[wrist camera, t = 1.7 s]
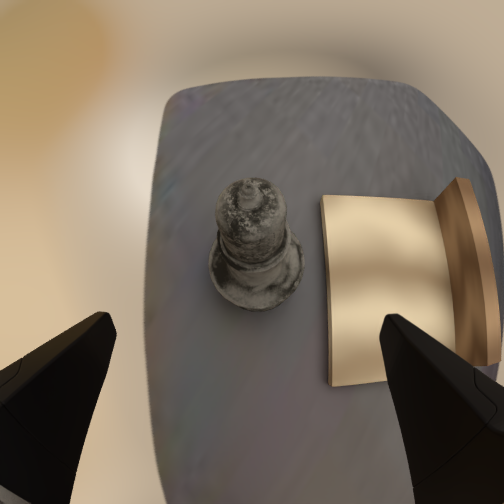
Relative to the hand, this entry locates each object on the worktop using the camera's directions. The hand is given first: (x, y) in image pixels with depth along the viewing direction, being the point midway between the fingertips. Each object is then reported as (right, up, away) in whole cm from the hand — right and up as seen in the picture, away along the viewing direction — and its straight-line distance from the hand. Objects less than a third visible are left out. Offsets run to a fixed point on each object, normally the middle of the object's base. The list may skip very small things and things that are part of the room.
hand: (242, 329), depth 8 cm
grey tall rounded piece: (+1, +1, +13) cm, 13 cm away
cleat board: (+12, 0, +11) cm, 16 cm away
